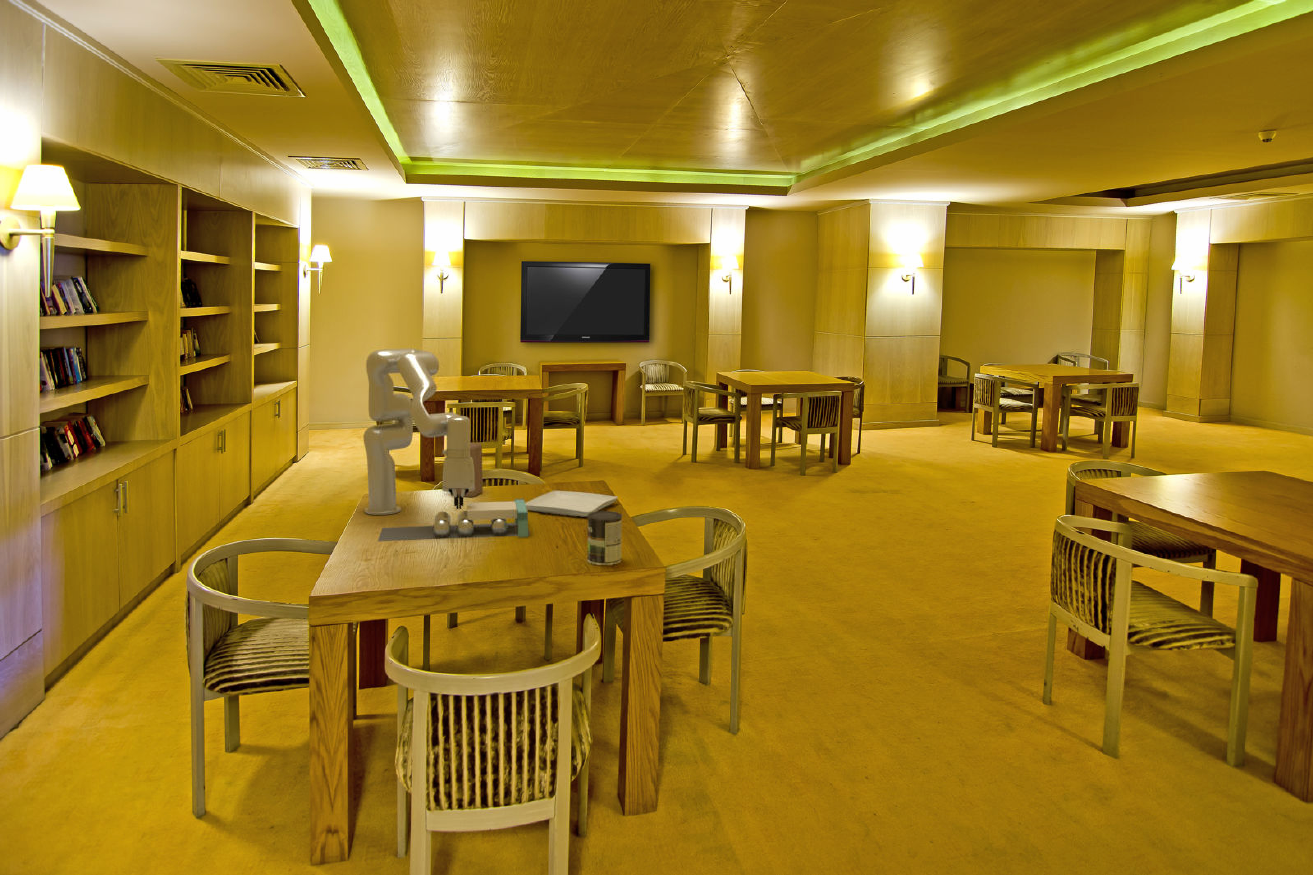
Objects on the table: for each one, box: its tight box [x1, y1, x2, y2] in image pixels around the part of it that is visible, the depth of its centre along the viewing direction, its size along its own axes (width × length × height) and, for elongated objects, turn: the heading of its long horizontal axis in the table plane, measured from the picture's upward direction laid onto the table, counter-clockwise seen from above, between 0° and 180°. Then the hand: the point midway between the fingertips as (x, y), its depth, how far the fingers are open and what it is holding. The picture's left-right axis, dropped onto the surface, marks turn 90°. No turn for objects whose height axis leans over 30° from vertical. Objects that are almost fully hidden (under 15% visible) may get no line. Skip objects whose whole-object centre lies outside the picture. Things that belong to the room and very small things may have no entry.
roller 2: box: [457, 510, 474, 537], centre depth 307 cm, size 16×5×5 cm, turn 12°
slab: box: [466, 500, 517, 521], centre depth 308 cm, size 12×16×3 cm
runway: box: [377, 498, 531, 542], centre depth 306 cm, size 21×48×8 cm, turn 102°
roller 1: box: [433, 511, 451, 538], centre depth 305 cm, size 16×5×5 cm
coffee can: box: [586, 510, 623, 567], centre depth 276 cm, size 10×10×14 cm
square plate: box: [525, 490, 619, 518], centre depth 344 cm, size 27×27×4 cm
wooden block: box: [450, 442, 484, 498], centre depth 364 cm, size 10×10×20 cm
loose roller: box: [490, 519, 508, 537], centre depth 309 cm, size 16×5×5 cm, turn 12°
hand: (458, 508), depth 306 cm, fingers closed
